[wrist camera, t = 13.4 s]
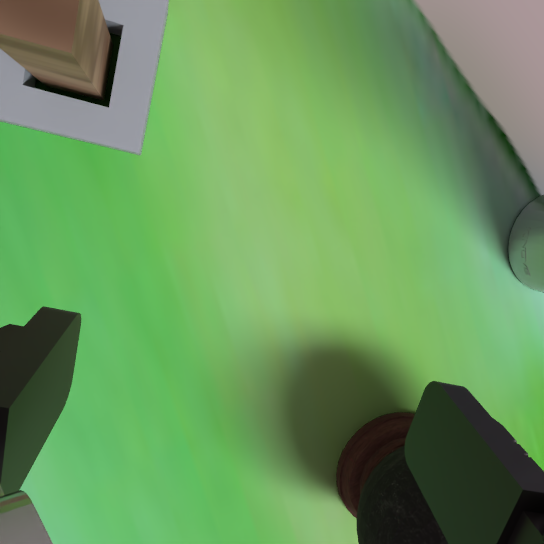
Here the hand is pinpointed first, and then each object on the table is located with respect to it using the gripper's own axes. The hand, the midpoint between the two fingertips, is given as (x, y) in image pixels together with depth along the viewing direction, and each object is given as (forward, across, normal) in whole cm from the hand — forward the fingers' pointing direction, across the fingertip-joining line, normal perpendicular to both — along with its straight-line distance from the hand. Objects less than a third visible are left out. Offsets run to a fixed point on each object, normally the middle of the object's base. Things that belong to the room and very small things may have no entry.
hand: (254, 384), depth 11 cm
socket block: (+28, +12, -6) cm, 31 cm away
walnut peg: (+28, +12, -6) cm, 31 cm away
